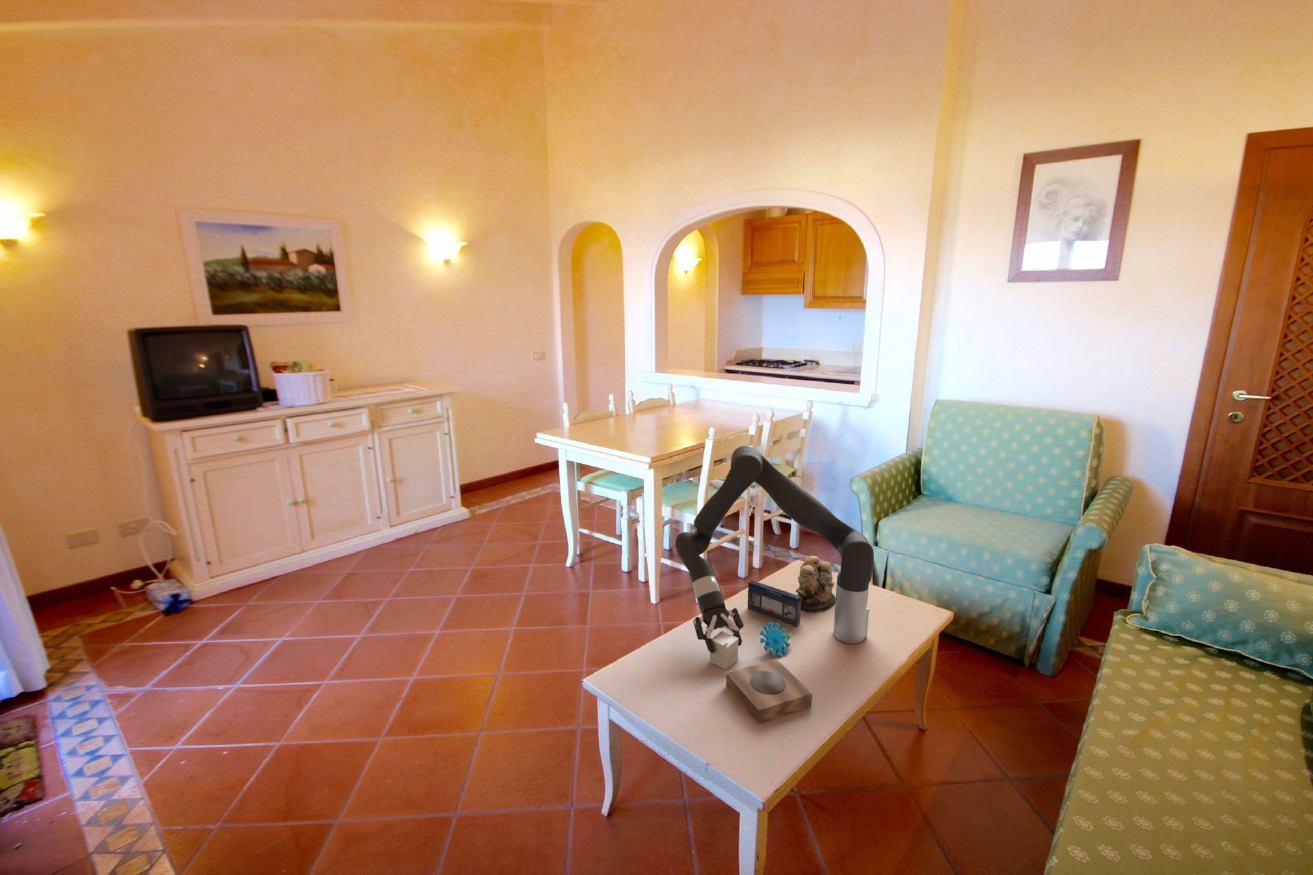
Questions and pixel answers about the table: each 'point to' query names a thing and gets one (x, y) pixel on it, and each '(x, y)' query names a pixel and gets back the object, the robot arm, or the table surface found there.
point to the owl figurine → (815, 585)
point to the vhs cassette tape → (774, 603)
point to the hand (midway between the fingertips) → (726, 648)
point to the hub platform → (768, 690)
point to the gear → (775, 639)
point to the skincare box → (724, 650)
